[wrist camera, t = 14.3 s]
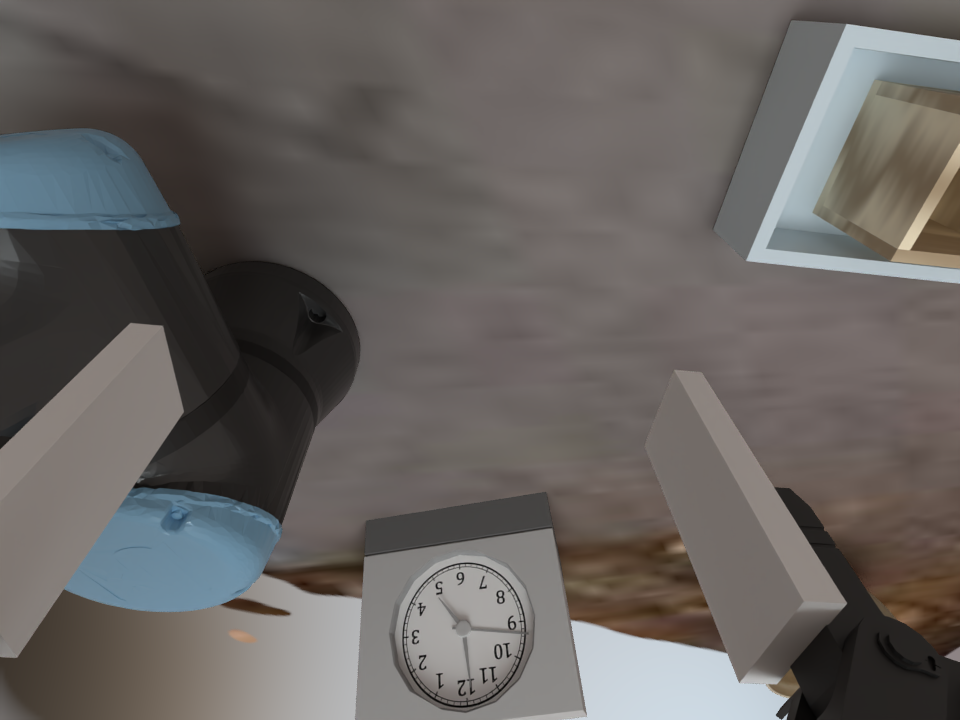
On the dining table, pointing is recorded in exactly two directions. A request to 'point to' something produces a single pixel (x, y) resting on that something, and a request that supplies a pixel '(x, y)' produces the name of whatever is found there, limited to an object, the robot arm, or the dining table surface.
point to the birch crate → (900, 176)
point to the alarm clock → (467, 617)
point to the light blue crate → (822, 143)
